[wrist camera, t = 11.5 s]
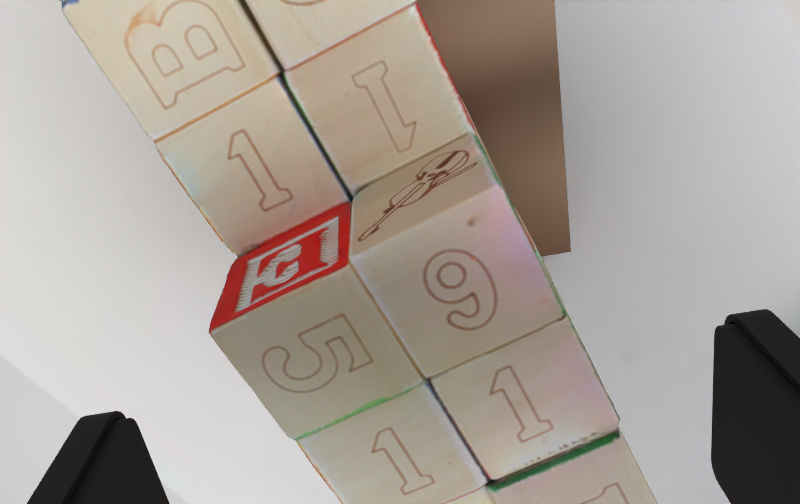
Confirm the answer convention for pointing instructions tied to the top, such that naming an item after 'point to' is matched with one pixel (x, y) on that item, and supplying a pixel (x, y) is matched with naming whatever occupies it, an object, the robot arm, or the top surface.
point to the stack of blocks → (367, 251)
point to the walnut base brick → (511, 100)
